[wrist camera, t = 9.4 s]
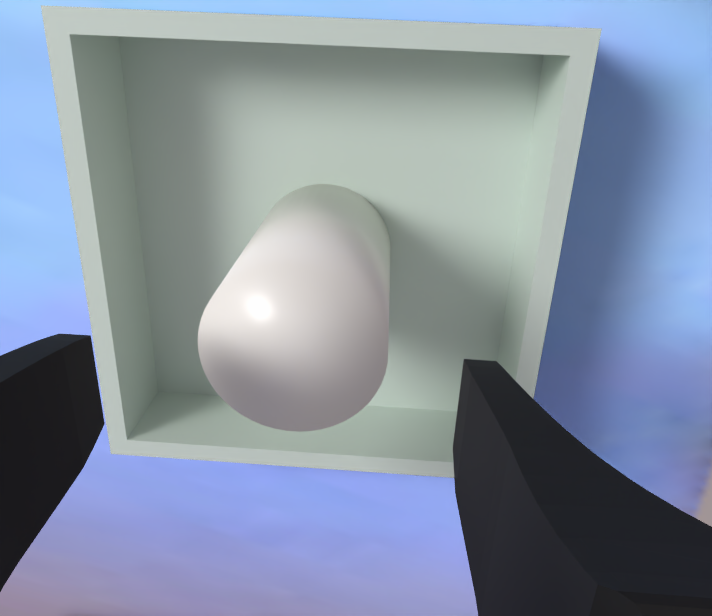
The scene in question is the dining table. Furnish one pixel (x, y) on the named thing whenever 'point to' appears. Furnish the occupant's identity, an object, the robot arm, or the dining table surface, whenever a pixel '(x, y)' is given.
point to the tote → (307, 167)
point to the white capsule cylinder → (303, 313)
